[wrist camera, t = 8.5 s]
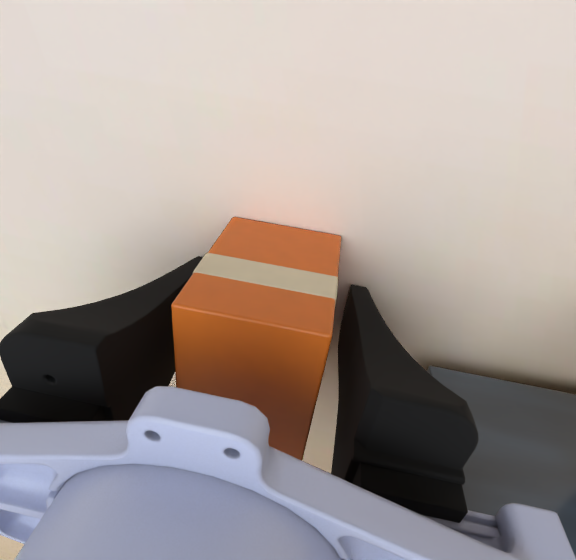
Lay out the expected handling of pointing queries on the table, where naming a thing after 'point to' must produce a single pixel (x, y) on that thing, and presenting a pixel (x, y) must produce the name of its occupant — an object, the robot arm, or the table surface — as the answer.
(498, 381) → the drawer
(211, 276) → the snack box
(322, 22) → the table surface
